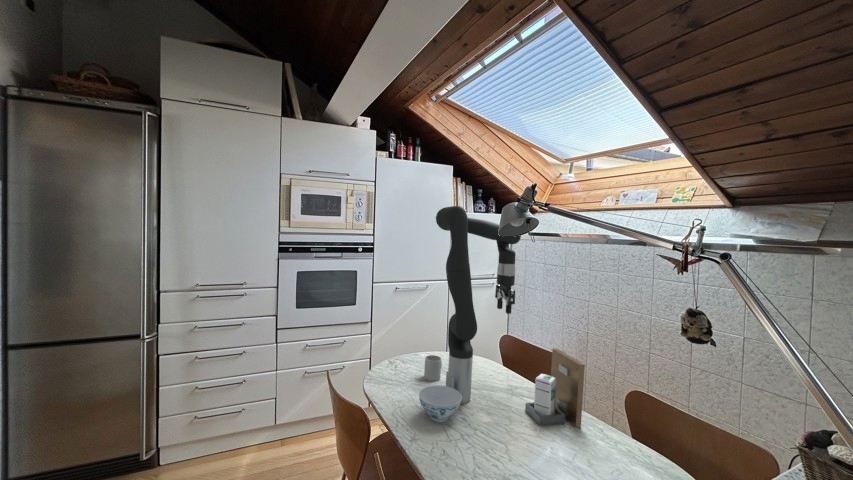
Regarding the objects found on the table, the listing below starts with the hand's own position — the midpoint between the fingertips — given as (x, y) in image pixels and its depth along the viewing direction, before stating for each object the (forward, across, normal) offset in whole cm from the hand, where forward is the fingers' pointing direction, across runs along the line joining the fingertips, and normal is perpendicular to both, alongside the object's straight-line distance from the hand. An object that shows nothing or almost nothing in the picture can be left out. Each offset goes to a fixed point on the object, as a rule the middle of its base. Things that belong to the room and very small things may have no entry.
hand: (503, 311), depth 147 cm
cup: (+32, -10, -27) cm, 43 cm away
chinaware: (+32, +22, -33) cm, 51 cm away
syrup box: (+32, +27, +5) cm, 42 cm away
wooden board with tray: (+32, +27, +7) cm, 43 cm away
